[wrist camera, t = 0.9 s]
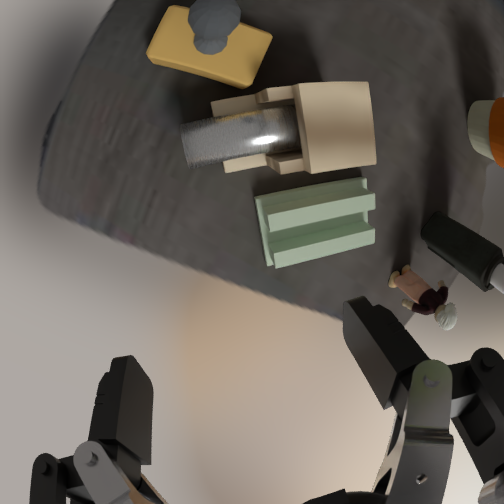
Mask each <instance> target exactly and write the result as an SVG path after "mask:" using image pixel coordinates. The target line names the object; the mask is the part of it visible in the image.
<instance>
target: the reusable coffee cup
mask: <svg viewBox="0 0 504 504" xmlns="http://www.w3.org/2000/svg"><path fill="white" fill-rule="evenodd" d="M467 128H468V135H469V139H470V142H471V144H472V146H473V148H474V149H475V150H476V151H477V152H478V153H480V154H482V155H484V156H487V157H489V158H490V159H492V160H494V161H496V163H497V164H498V165H499V166H501V167H503V168H504V97H502V98H498V99H496V100H481V101H475V102H474V103H473V104H472V105H471V107H470V109H469V113H468V120H467Z"/></svg>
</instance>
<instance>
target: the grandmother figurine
mask: <svg viewBox="0 0 504 504" xmlns="http://www.w3.org/2000/svg"><path fill="white" fill-rule="evenodd" d="M388 285H389V287H396V286H397V287H399V288H400V289H401V290H402V291H404V292H405V293H406V294H407V295H408V296H409V297H410V298H411V299H412V300H414V301H415V302H417V303H418V304H417V303H414V302H412V301H408V300H407V299H403V300H402V305H403V306H406V307H407V308H408V309H410V310H412V311H413V312H417V313H421V314H423V315H429V314H433V313H435V320H436V321H437V322H438V324H440V327H442V329H444V330H449V329H451V328H453V327H454V325H455V323H456V320H457V312H456V308H455V305H454V304H453V303H449V304H447V305H444V303H445V302H446V300H447V297H448V287H446V285H445V284H444V281H442V280H441V281H439V282H438V286H439V290H438V291H437V292H436V291H435V290H434V289H432V288H431V287H430V286H429V285H428V284H427V283H426V282H425V281H424V280H423V279H422V278H421V277H419V276H418V275H417V274H415V273H414V272H413V271H411V269H410V266H409V265H406V266H404V267H403V268H402V275H400V274H399V272H398V271H394V272H393V273H392V274H391V276H390V280H389V283H388Z"/></svg>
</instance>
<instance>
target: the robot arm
mask: <svg viewBox="0 0 504 504" xmlns="http://www.w3.org/2000/svg"><path fill="white" fill-rule="evenodd" d="M343 335H344V339H345V342H346V344H347V346H348V348H349V350H350V351H351V353H352V355H353V356H354V358H355V360H356V361H357V363H358V365H359V367H360V368H361V370H362V372H363V374H364V375H365V377H366V379H367V381H368V382H369V384H370V386H371V388H372V390H373V391H374V393H375V395H376V397H377V398H378V400H379V402H380V404H381V405H382V407H383V409H384V410H385V409H387V408H389V407H391V406H393V407H394V408H395V410H396V415H395V419H394V423H393V428H392V432H391V436H390V440H389V443H388V447H387V451H386V454H385V458H384V460H383V463H382V465H381V467H380V469H379V472H378V474H377V477H376V480H375V483H374V486H373V488H372V491H371V492H362V491H358V492H345V489H342V490H339V491H336V492H333V493H330V494H327V495H324V496H321V497H318V498H314V499H311V500H309V501H307V502H305V503H303V504H442V499H443V496H444V492H445V488H446V483H447V479H448V474H449V470H450V464H451V459H452V452H453V445H454V439H453V436H452V435H451V434H449V424H450V418H451V420H452V422H453V423H454V425H455V427H456V429H457V430H458V433H459V435H460V436H461V438H462V440H463V442H464V444H465V446H466V448H467V450H468V452H469V454H470V456H471V458H472V460H473V462H474V464H475V466H476V468H477V470H478V472H479V475H480V477H481V479H482V481H483V483H484V486H483V487H482V489H481V492H480V495H479V498H478V503H479V504H504V359H503V358H502V357H501V355H500V354H499V353H498V352H497V351H495V350H494V349H491V348H480V349H478V350H476V351H475V352H474V354H473V355H472V357H471V359H470V360H469V361H465V362H461V363H457V364H452V365H446V364H444V363H443V362H441V361H438V360H431V359H429V357H428V356H427V355H426V354H425V353H424V351H423V350H422V349H421V348H420V346H419V345H418V344H417V343H416V341H415V340H414V339H413V337H412V336H411V335H410V334H409V332H407V330H405V328H404V326H403V325H402V324H401V323H400V322H399V321H398V319H397V318H396V317H395V315H394V314H393V313H392V312H391V311H390V310H388V309H387V308H385V307H383V306H381V305H379V304H378V305H376V306H372V305H371V303H370V302H369V301H368V300H367V298H366V297H364V296H360V297H357V298H354V299H351V300H348V301H346V302H344V304H343ZM152 408H153V386H152V383H151V380H150V379H149V377H148V376H147V374H146V373H145V372H144V370H143V369H142V367H141V366H140V365H139V363H138V362H137V360H136V359H135V358H134V356H132V355H129V356H123V357H116V358H113V360H112V362H111V367H110V371H109V372H106V373H105V374H104V376H103V377H102V379H101V381H100V382H99V385H98V390H97V397H96V399H95V406H94V409H93V414H92V420H91V426H90V431H89V437H88V441H87V442H84V443H82V444H81V445H79V447H77V449H76V451H75V453H74V455H73V456H69V457H65V458H61V459H56V458H55V457H53V456H52V455H51V454H48V453H43V454H41V455H39V456H38V457H37V458H36V460H35V462H34V464H33V469H32V478H31V488H30V503H29V504H66V497H68V498H70V500H71V501H70V504H168V503H167V502H166V500H165V499H164V498H163V497H162V496H161V495H160V494H159V493H158V492H157V490H156V489H155V488H154V487H153V486H152V484H151V483H150V482H149V481H148V480H147V478H146V477H145V476H144V475H143V474H142V473H141V465H151V439H152V436H151V435H152V411H153V409H152ZM419 483H420V484H419Z"/></svg>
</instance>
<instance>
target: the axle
mask: <svg viewBox="0 0 504 504" xmlns="http://www.w3.org/2000/svg"><path fill="white" fill-rule="evenodd" d="M180 131H181V137H182V143H183V147H184V152H185V156H186V160H187V163H188V166H189V169H193V168H197V167H201V166H206V165H210V164H214V163H219V162H223V161H228V160H233V159H238V158H242V157H247V156H253V155H258V154H263V153H269V152H275V151H281V150H287V149H293V148H300V147H302V146H301V139H300V132H299V125H298V119H297V112H296V106H295V104H293V105H284V106H276V107H269V108H262V109H255V110H249V111H243V112H237V113H232V114H226V115H221V116H216V117H211V118H207V119H202V120H198V121H194V122H189V123H185V124H181V125H180Z"/></svg>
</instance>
